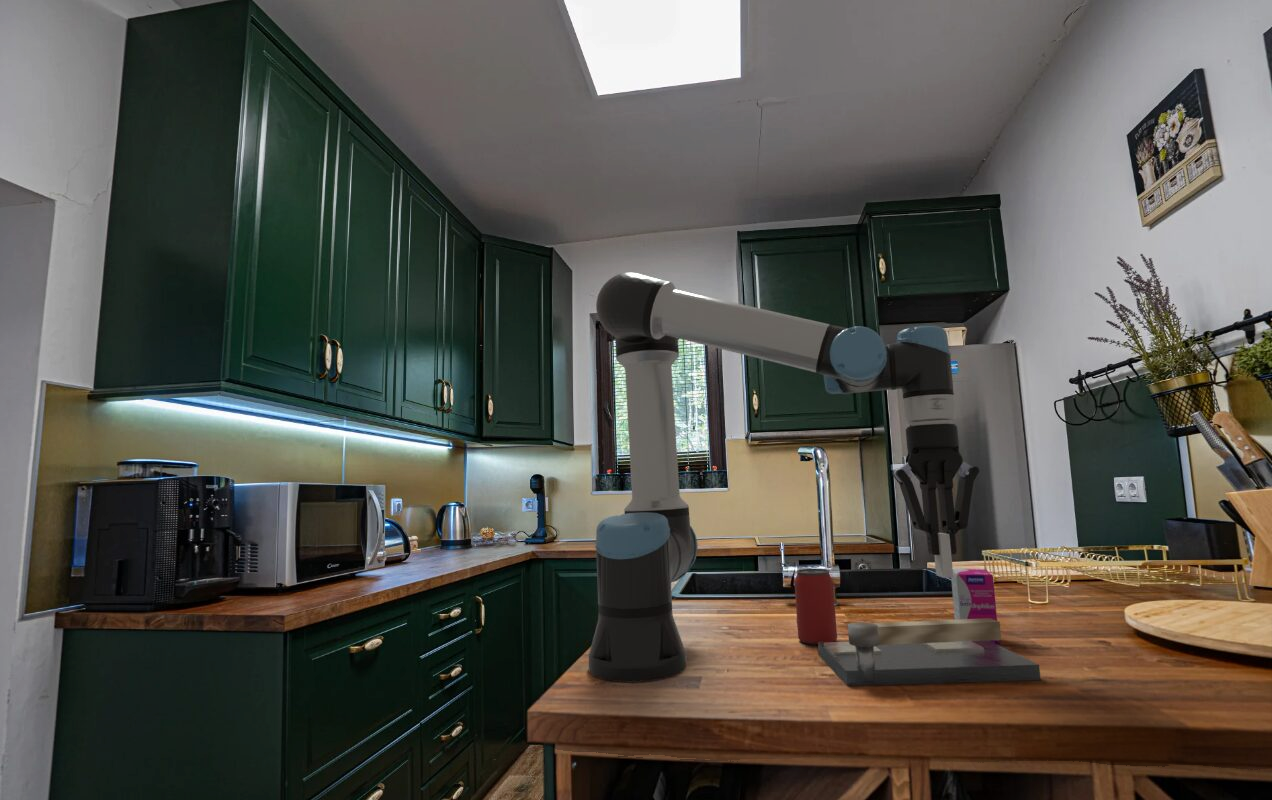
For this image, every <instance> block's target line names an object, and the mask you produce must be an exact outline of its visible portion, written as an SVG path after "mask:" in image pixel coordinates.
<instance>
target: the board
mask: <svg viewBox="0 0 1272 800" xmlns="http://www.w3.org/2000/svg"><path fill="white" fill-rule="evenodd" d="M817 648H818V649H817V650H818V656H819V657H820V658H821V659H822V661H824V662H825V664H826V665H828V667H829V668H830V669H831V670H832V671H833V673H835V674H836V676H838V678H839V679H840V680H841V681H842V682H843V683H844V684H845V686H847V687H859V686H861V687H863V686H865V683H864V670H860V669H857V662H856V649H855V646H853V645H851V644H849V640H847V641H841V640H840V641H835V642H818V645H817ZM874 659H875V670H873V674H874V686H891V685H892V686H895V685H897V686H898V685H925V684H927V685H929V684H953V683H954V684H958V683H961V684H962V683H989V682H994V681H996V682H1021V681H1022V682H1023V681H1024V682H1025V681H1028V682H1029V681H1041V680H1042V679H1041V671H1040V664H1038V663H1036V662H1034V661H1032V660H1031V659H1028V658H1026V657H1024V656H1021V655H1020V654H1018V653H1016V652H1014V651H1011V650H1010V649H1007V648H1005V647H1003V646H1001V645H997V644H995V643H993V642H991V641H989V640H988V641H964V642H940V643H916V644H891V645H878V646H874ZM865 687H866V686H865Z"/></svg>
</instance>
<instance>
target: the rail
mask: <svg viewBox="0 0 1272 800" xmlns="http://www.w3.org/2000/svg"><path fill="white" fill-rule="evenodd" d="M847 632H848V633H847V634H848V635H847V636H848V641H849V644H851V645H853V646H859V647H874V646H878V645H891V644H916V643H940V642H964V641H988V640H999V641H1002V631H1001V622H1000V621H998V620H997V621H996V620H994V619H991V618H985V619H960V620H955V619H942V620H939V619H937V620H920V621H919V620H917V621H916V620H915V621H894V622H892V621H891V622H860V621H859V622H851V623H848V624H847Z"/></svg>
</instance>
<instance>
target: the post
mask: <svg viewBox="0 0 1272 800" xmlns="http://www.w3.org/2000/svg"><path fill="white" fill-rule="evenodd" d="M855 649H856V662H857V669H860V670H864V683H865V687H871V686H872V687H873V686H875V685H874V674H873V670H875V659H874V647H859V646H855Z"/></svg>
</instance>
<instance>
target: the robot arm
mask: <svg viewBox="0 0 1272 800" xmlns="http://www.w3.org/2000/svg"><path fill="white" fill-rule="evenodd" d="M595 305H596V306H595V307H596V309H595V310H596V314H597V315H596V316H597V318H598V321H599V323H600V324H601V326H602V328H604V330H605V331H606V332H607V333H608V334H610V335H611V336H613V337H614V339H615V341H614V342H615V358H616V362H617V363H619V364H620V365H621V366H622V367H623V368H624V373H625V375H624V376H625V390H626V391H625V392H626V393H625V395H626V409H627V424H628V425H627V428H628V445H629V463H630V465H629V466H630V481H631V482H630V484H631V485H630V486H631V501H630V502H629V503H628V504H627V505H626V506H625V507H624V509H623V511H624V513H623V514H620V515H617V514H616V515H613V516H609V517H607V518H606V517H605V518H604V519H602V520H601V521H600V522H599V523H598V525H597V527H596V529H595V530H596V533H595V535H596V538H595V542H594V546H595V552H596V553H595V555H596V576H597V577H596V579H597V582H596V583H597V604H598V618H597V619H598V620H597V623H596V627H595V632H594V634H593V637H592V640H591V641H592V643H591V645H590V649H589V653H588V672H589V673H590V675H592V676H594V677H596V678H599V679H603V680H607V681H614V682H615V681H616V682H648V681H655V680H661V679H665V678H669V677H670V678H671V677H673V676H676V675H678V674H680V673H682V672H683V671H685V669H686V668H687V657H686V656H687V655H686V649H685V647H684V643H683V642H682V638H681V635H680V632H679V630H678V627H677V624H676V621H675V618H674V614H673V594H672V583H674V582H677V581H678V580H681V578H683V577H684V576H685V575H687V573H688V572H690V569H691V568H692V566H693V565H694V563H695V561H696V559H697V554H698V549H699V548H698V545H699V544H698V539H697V535H696V533H695V530H694V529H693V527H692V526H691V519H690V518H691V517H690V507H689V503H687V502H686V501H685V500H683V498H682V497H681V495H680V478H679V477H680V476H679V464H678V462H679V461H678V449H677V435H676V434H677V433H676V432H677V431H676V418H675V417H676V416H675V402H674V387H673V374H672V373H673V371H672V366H673V365H674V363H675V362H676V361H677V360H678V359H679V357H680V355H679V354H680V352H679V341H680V340H682V341H688V342H691V343H695V344H700V345H703V346H708V347H711V348H716V349H719V350H723V351H728V352H730V353H731V352H732V353H736V354H739V355H743V356H747V357H752V358H756V359H761V360H763V361H769V362H771V363H773V362H774V363H777V364H780V365H784V366H788V367H791V368H797V369H800V370H805V371H809V372H813V373H816V374H820V375H822V376H823V381H824V390H825V391H826V392H827V393H828V394H830V395H838V394H840V395H841V394H843V395H846V396H847V395H850V394H855V393H866V392H868V393H869V392H879V391H887V390H888V391H890V390H891V391H894V390H901V392H902V402H903V404H902V406H903V418H904V423H906V424H907V425H908V426H907V427H906V428H905V437H906V438H905V441H906V450H907V455H906V457H905V461H904V462H905V464H903V465H901V466H900V467H899V468H897V469H893V470H892V472H891V475H892V477H893V478H894V480H896V482H897V484H898V485H899V487H900V491H901V493H902V497H903V498H904V499H903V500H904V503H905V506H906V508H907V511H908V515H909V517H910V520H911V523H912V526H913V529H916V530H918V531H921V532H924V533H925V534H926V540H927V541H926V542H927V552H928V553H929V554H930V555H932V556H934V565H935V566H934V568H935V575H936V577H937V576H938V577H940V578H941V579H942V578H943V579H947V578H948V579H949V578H953V569H954V568H953V561H952V560H953V558H952V555H957V552H958V551H957V539H956V534H958V532H959V531H960V530H965V529H967V527H968V524H969V516H970V509H971V501H972V496H973V489H974V488H973V487H974V482H975V480H976V478H977V477H978V475H979V473H980V469H979V467H978V466H972V465H970V464H969V463H967V462H966V461H964V458H963V456H962V454H961V453H960V450H959V449H960V447H959V446H960V445H959V444H960V442H959V441H960V440H959V433H958V425H956V424H955V423H953V421H955V420H956V419H957V411H956V403H955V394H954V383H953V382H954V381H953V369H952V359H951V356H952V355H951V353H952V352H950V345H949V339H948V338H949V337H948V334H947V331H946V330H945V329H944V328H943V327H941V326H938V325H922V326H921V325H920V326H914V327H908V328H905V329H902V330H900V331H898V334H897V339H896V342H893V343H889V344H885V342H884V340H883V339H882V336H880V335H879V334H878V333H877V332H876V331H875V330H873V329H872V328H869V327H866V326H860V325H857V326H856V325H855V326H851V327H848V328H847V327H844V326H838V325H833V324H830V323H825V322H821V321H816V320H813V319H806V318H803V317H799V316H793V315H790V314H785V313H781V312H777V311H772V310H768V309H763V308H759V307H755V306H750V305H746V304H741V303H737V302H732V301H728V300H724V299H719V298H715V297H710V296H706V295H701V294H698V293H697V294H696V293H692V292H688V291H685V290H679V289H677V288H676V286H675V284H674V283H673V282H672V281H669V280H664V279H659V278H656V277H653V276H649V275H644V274H641V273H638V272H623V273H618V274H616V275H614V276H612V277H611V278H610V279H608V280H607V281H606V282H605V283H604V284H603V286H602V287H601V288H600V290H599V292H598V295H597V298H596V304H595ZM957 473H958V475H959V479H958V484H957V490H956V497H955V505H954V495H953V488H954V482H953V481H954V478H955V476H956V474H957ZM912 474H913V475H914V476H915V478H916V479H917V480H918V481H919V488H920V491H921V499H922V507H921V503H920V501H919V498H918V496H917V492H916V490H915V489H916V488H915V486H914V483H913V481H912V480H911V479H912ZM936 490H937V491H936ZM936 492H937V493H936ZM937 494H938V495H937ZM937 496H938V501H937ZM937 502H938V503H939V516H940V526H939V516H938V504H937ZM940 527H941V531H942V532H940Z"/></svg>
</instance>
